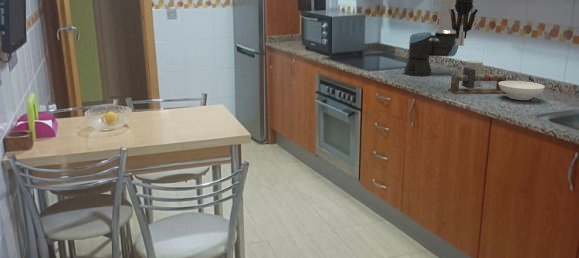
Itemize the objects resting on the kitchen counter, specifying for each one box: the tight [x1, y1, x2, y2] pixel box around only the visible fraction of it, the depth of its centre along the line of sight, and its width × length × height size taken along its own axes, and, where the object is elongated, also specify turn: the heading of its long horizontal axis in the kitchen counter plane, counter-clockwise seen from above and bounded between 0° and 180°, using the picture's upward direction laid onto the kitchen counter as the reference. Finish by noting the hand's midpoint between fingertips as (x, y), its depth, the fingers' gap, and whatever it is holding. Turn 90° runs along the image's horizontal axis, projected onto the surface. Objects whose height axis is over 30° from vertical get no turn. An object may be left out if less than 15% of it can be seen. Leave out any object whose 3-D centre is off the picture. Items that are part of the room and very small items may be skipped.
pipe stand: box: [447, 73, 507, 95], centre depth 260 cm, size 26×8×9 cm, turn 95°
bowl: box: [498, 80, 546, 101], centre depth 246 cm, size 20×20×7 cm
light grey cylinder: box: [464, 60, 483, 88], centre depth 277 cm, size 8×8×12 cm
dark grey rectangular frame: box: [461, 66, 476, 89], centre depth 259 cm, size 2×8×9 cm, turn 5°
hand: (459, 45), depth 254 cm, fingers closed
